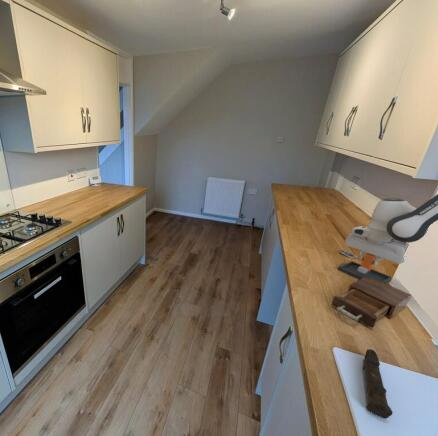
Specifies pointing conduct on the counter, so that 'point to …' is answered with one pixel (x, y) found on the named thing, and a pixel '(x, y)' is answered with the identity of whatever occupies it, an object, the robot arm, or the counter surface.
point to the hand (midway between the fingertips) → (368, 262)
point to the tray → (352, 271)
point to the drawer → (360, 307)
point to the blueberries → (348, 254)
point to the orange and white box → (366, 263)
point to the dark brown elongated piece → (375, 386)
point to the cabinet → (382, 294)
